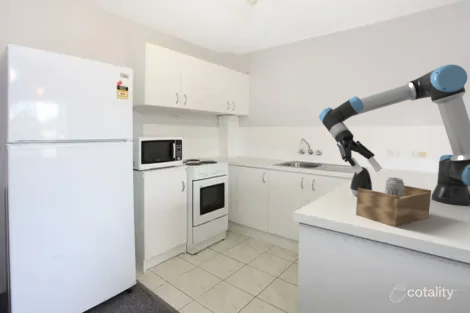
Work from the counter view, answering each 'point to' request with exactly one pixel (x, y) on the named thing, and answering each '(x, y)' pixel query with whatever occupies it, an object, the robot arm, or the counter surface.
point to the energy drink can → (394, 186)
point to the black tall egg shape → (361, 181)
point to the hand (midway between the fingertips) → (370, 170)
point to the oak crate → (394, 206)
